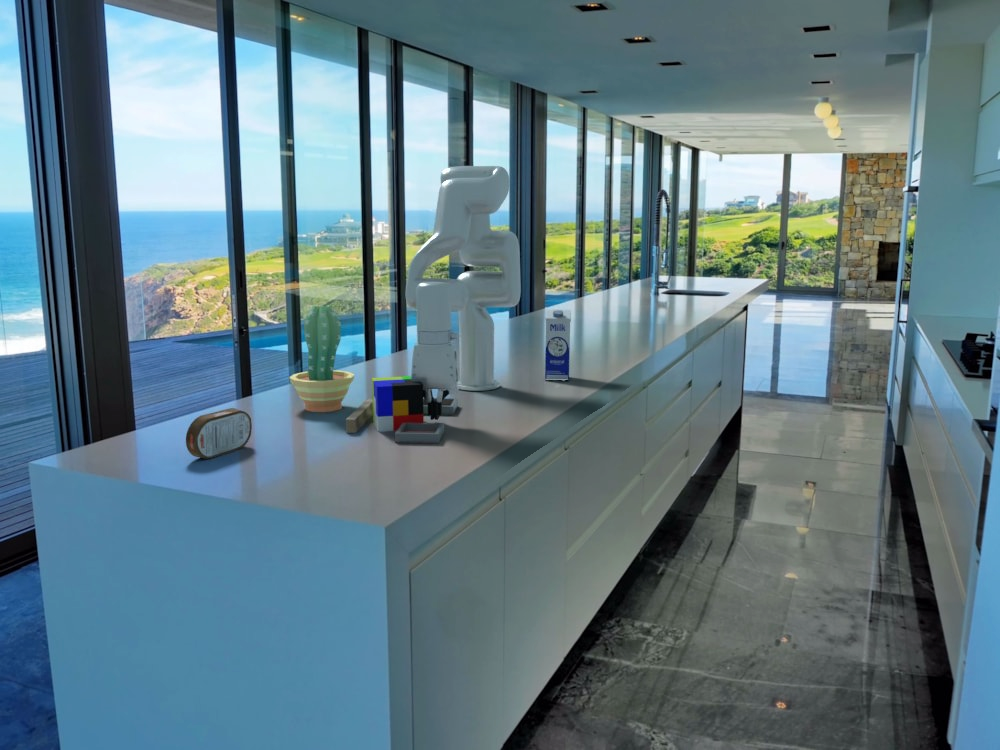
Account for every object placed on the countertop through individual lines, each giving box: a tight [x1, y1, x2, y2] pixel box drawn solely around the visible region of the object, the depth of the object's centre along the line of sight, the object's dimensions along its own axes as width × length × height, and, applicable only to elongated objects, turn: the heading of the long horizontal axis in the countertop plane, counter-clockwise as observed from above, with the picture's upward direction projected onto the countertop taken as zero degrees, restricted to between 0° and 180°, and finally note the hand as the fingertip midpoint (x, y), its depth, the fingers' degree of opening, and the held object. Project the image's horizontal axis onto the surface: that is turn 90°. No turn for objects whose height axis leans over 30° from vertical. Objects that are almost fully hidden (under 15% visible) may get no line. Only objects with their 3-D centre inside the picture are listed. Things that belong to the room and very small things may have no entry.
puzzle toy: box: [371, 375, 425, 432], centre depth 182 cm, size 10×10×10 cm
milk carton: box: [544, 308, 572, 380], centre depth 234 cm, size 7×7×20 cm
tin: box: [185, 407, 253, 460], centre depth 160 cm, size 15×3×8 cm, turn 152°
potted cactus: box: [288, 304, 355, 413], centre depth 197 cm, size 15×15×25 cm
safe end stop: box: [345, 398, 373, 434], centre depth 185 cm, size 20×2×3 cm, turn 176°
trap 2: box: [423, 397, 459, 416], centre depth 197 cm, size 9×9×2 cm
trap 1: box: [394, 422, 445, 445], centre depth 172 cm, size 9×9×2 cm
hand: (435, 418), depth 184 cm, fingers closed
